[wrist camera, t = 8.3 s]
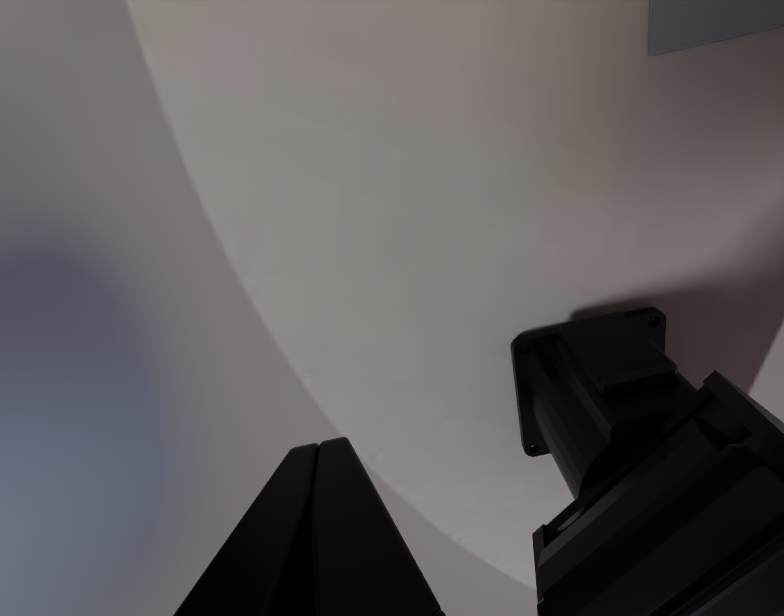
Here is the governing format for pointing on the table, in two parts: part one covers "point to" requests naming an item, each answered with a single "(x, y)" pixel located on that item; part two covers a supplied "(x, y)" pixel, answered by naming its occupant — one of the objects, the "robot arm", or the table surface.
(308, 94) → the table surface
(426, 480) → the table surface
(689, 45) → the mat
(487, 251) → the table surface
